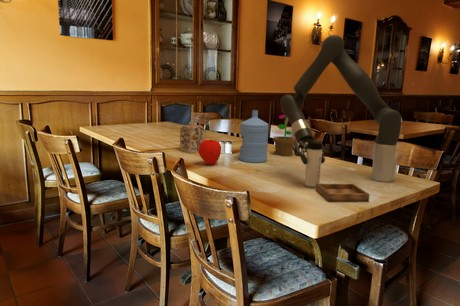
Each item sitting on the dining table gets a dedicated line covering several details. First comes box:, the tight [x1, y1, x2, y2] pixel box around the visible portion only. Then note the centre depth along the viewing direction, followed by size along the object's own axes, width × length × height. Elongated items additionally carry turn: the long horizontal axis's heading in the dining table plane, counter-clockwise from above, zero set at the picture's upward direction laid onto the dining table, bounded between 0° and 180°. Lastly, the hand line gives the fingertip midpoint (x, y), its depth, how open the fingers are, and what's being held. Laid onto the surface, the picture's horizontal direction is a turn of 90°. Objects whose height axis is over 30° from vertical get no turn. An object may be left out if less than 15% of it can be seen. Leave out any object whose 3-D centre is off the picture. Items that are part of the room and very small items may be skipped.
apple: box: [198, 139, 222, 166], centre depth 188 cm, size 12×12×13 cm
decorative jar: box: [179, 121, 207, 154], centre depth 220 cm, size 12×12×18 cm
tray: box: [315, 183, 370, 203], centre depth 142 cm, size 16×14×3 cm
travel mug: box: [303, 140, 323, 189], centre depth 152 cm, size 6×7×20 cm
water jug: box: [238, 109, 269, 164], centre depth 199 cm, size 16×16×28 cm
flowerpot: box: [272, 108, 297, 157], centre depth 217 cm, size 14×14×30 cm
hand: (314, 163), depth 151 cm, fingers open, 8 cm apart
